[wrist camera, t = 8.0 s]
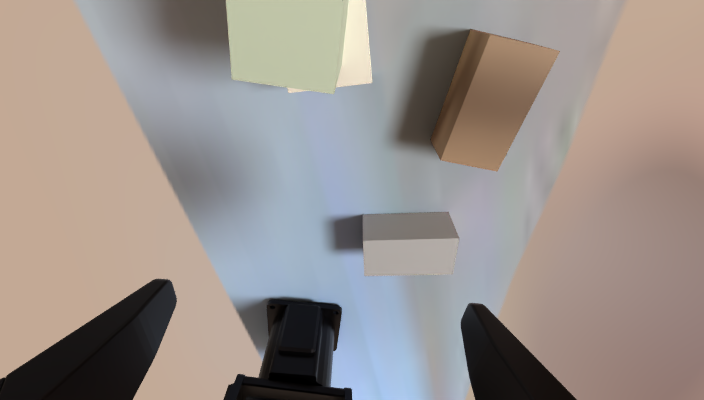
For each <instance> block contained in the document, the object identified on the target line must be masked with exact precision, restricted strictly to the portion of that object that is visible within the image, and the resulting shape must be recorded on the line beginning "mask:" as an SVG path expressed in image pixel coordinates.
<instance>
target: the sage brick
mask: <svg viewBox="0 0 704 400" xmlns="http://www.w3.org/2000/svg"><path fill="white" fill-rule="evenodd" d="M348 4H349V0H226V9H227V22H228V36H229V49H230V62H231V75H232V80H239V81H246V82H253V83H260V84H267V85H274V86H281V87H288V88H295V89H301V90H308V91H315V92H322V93H329V94H334V92H335V88H336V85H337V81H338V77H339V74H340V70H341V66H342V59H343V50H344V41H345V32H346V23H347V13H348Z"/></svg>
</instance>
